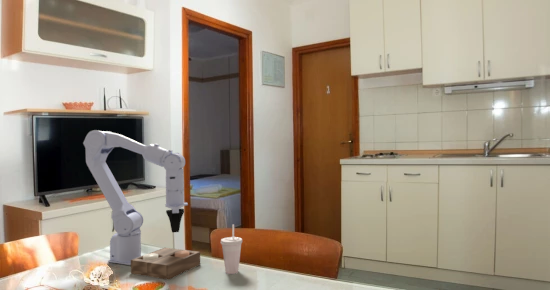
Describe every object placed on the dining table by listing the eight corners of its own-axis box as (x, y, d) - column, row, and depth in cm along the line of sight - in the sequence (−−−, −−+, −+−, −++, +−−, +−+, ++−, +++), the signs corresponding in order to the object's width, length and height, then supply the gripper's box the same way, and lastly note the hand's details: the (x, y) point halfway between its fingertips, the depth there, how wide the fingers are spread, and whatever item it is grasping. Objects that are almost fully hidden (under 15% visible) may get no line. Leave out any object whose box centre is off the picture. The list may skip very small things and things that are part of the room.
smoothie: (239, 276, 111) (238, 227, 111) (217, 275, 112) (217, 226, 112) (245, 269, 117) (244, 222, 117) (225, 268, 119) (224, 222, 119)
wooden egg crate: (130, 273, 115) (130, 260, 115) (165, 259, 128) (164, 247, 128) (168, 279, 109) (168, 265, 109) (200, 264, 122) (200, 251, 122)
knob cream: (139, 267, 116) (139, 256, 116) (150, 263, 120) (150, 252, 120) (151, 269, 114) (151, 258, 114) (161, 265, 118) (161, 254, 118)
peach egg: (171, 264, 119) (171, 253, 119) (180, 260, 123) (180, 250, 123) (183, 266, 117) (183, 255, 117) (192, 262, 121) (192, 251, 121)
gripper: (188, 192, 121) (189, 235, 121) (186, 187, 135) (186, 226, 135) (165, 193, 119) (165, 237, 119) (165, 188, 133) (165, 228, 133)
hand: (175, 231), depth 127 cm, fingers closed
